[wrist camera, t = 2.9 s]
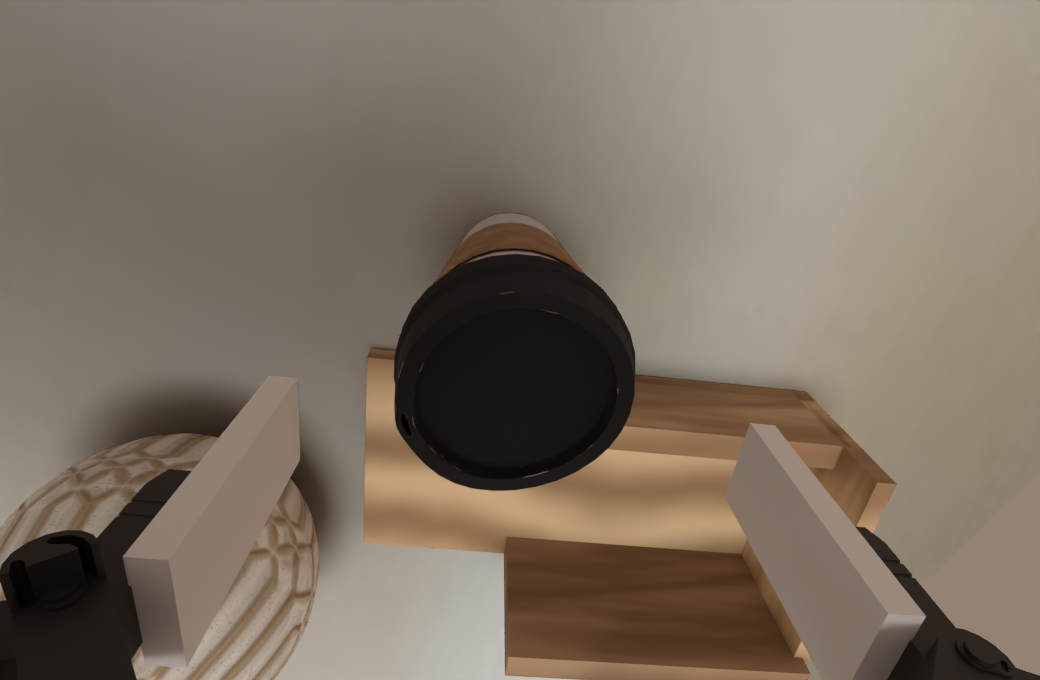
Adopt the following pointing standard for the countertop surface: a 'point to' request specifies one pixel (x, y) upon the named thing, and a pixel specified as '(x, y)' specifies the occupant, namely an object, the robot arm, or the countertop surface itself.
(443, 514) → the shelf
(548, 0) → the countertop surface
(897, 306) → the countertop surface
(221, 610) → the vase
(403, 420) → the coffee cup
